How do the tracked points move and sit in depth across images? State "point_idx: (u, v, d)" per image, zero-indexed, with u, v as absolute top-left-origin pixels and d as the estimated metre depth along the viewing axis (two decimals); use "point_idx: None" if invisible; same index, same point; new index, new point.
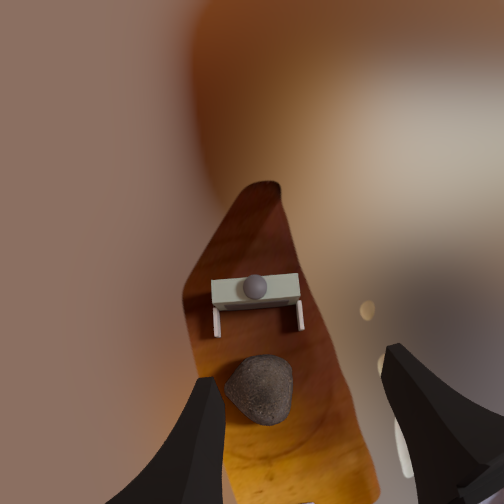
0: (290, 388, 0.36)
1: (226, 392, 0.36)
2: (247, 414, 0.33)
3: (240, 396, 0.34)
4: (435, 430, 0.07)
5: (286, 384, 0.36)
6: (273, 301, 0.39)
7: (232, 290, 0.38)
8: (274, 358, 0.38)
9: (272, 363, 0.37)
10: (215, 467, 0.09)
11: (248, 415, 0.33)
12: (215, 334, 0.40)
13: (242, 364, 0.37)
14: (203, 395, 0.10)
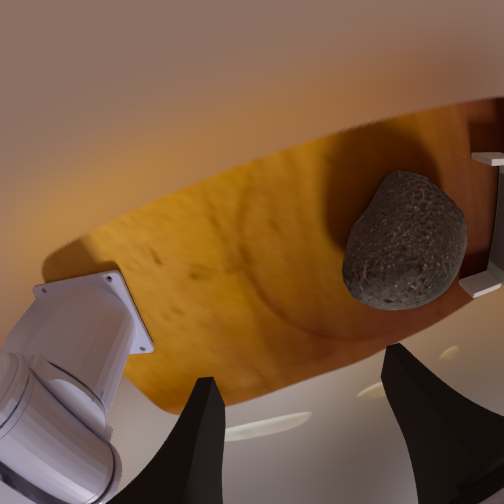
0: None
1: (416, 183, 0.16)
2: (400, 251, 0.15)
3: (437, 232, 0.14)
4: (435, 430, 0.07)
5: None
6: None
7: None
8: None
9: None
10: (215, 467, 0.09)
11: (397, 253, 0.15)
12: (493, 161, 0.15)
13: (462, 215, 0.16)
14: (203, 395, 0.10)
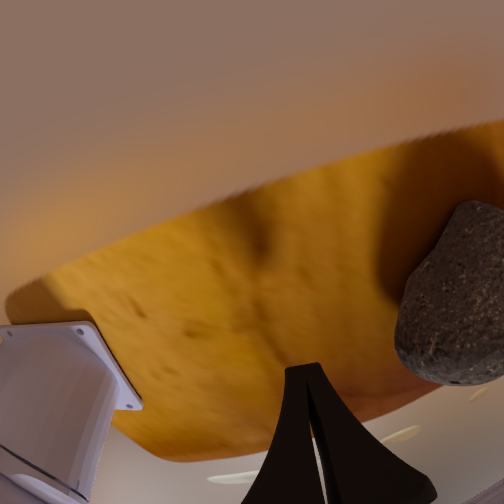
0: None
1: (501, 223, 0.10)
2: (484, 325, 0.08)
3: None
4: (329, 463, 0.07)
5: None
6: None
7: None
8: None
9: None
10: None
11: (481, 328, 0.09)
12: None
13: None
14: (300, 383, 0.10)
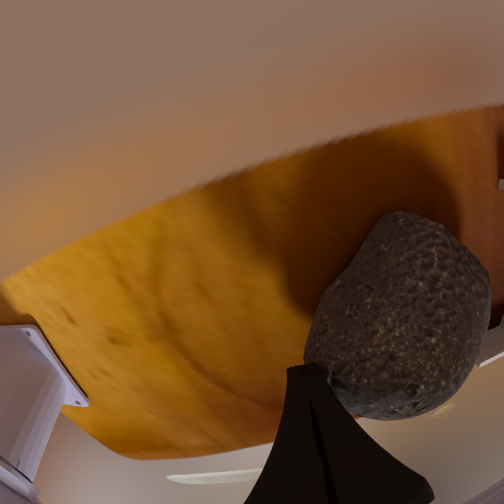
0: None
1: (426, 238, 0.10)
2: (385, 360, 0.09)
3: (450, 329, 0.08)
4: (326, 463, 0.07)
5: None
6: None
7: None
8: None
9: None
10: None
11: (380, 364, 0.09)
12: None
13: (488, 279, 0.10)
14: (302, 383, 0.10)
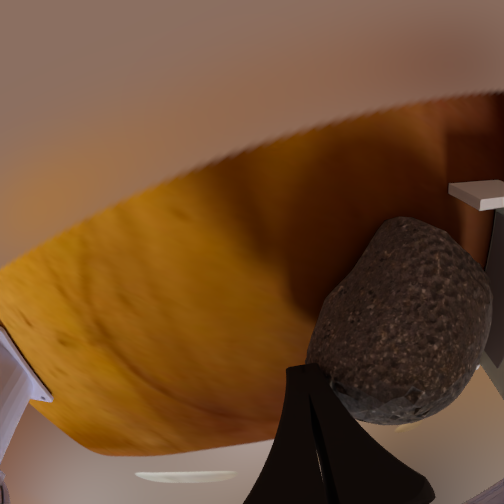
0: None
1: (429, 244, 0.10)
2: (387, 367, 0.09)
3: (452, 336, 0.08)
4: (327, 463, 0.07)
5: None
6: None
7: None
8: None
9: None
10: None
11: (383, 370, 0.09)
12: (484, 202, 0.10)
13: (490, 285, 0.10)
14: (302, 383, 0.10)
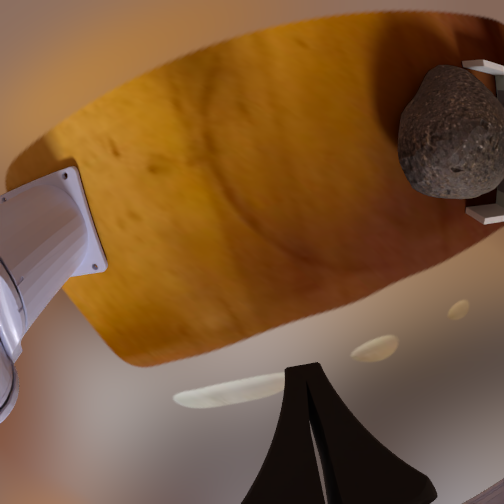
0: (466, 198, 0.15)
1: (460, 70, 0.12)
2: (462, 111, 0.11)
3: (491, 103, 0.10)
4: (329, 463, 0.07)
5: (481, 193, 0.14)
6: None
7: None
8: None
9: None
10: None
11: (460, 113, 0.11)
12: (485, 62, 0.12)
13: None
14: (300, 384, 0.10)
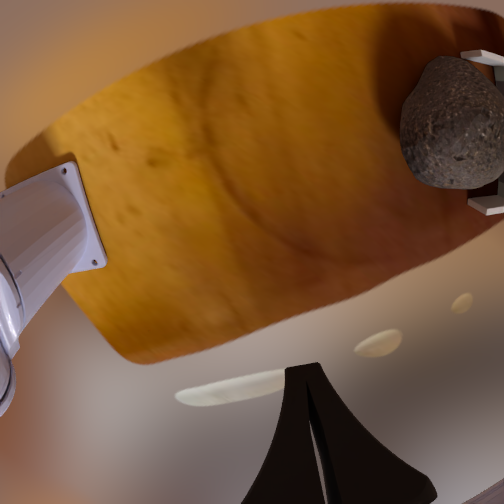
0: (470, 188, 0.15)
1: (460, 60, 0.12)
2: (463, 100, 0.11)
3: (491, 91, 0.10)
4: (329, 463, 0.07)
5: (485, 183, 0.14)
6: None
7: None
8: None
9: None
10: None
11: (461, 102, 0.11)
12: (483, 52, 0.11)
13: None
14: (300, 383, 0.10)
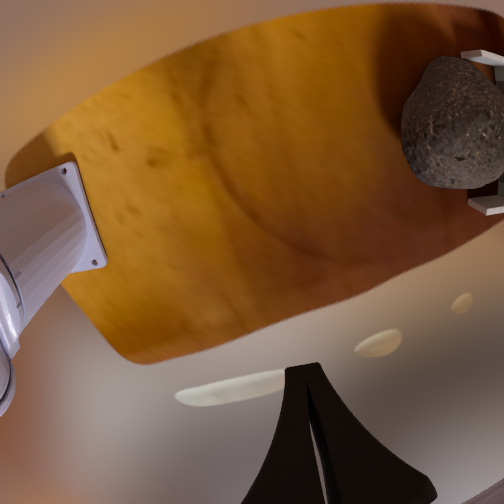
0: (470, 188, 0.15)
1: (461, 60, 0.12)
2: (463, 100, 0.11)
3: (492, 92, 0.10)
4: (329, 463, 0.07)
5: (485, 183, 0.14)
6: None
7: None
8: None
9: None
10: None
11: (462, 102, 0.11)
12: (483, 52, 0.11)
13: None
14: (300, 383, 0.10)
